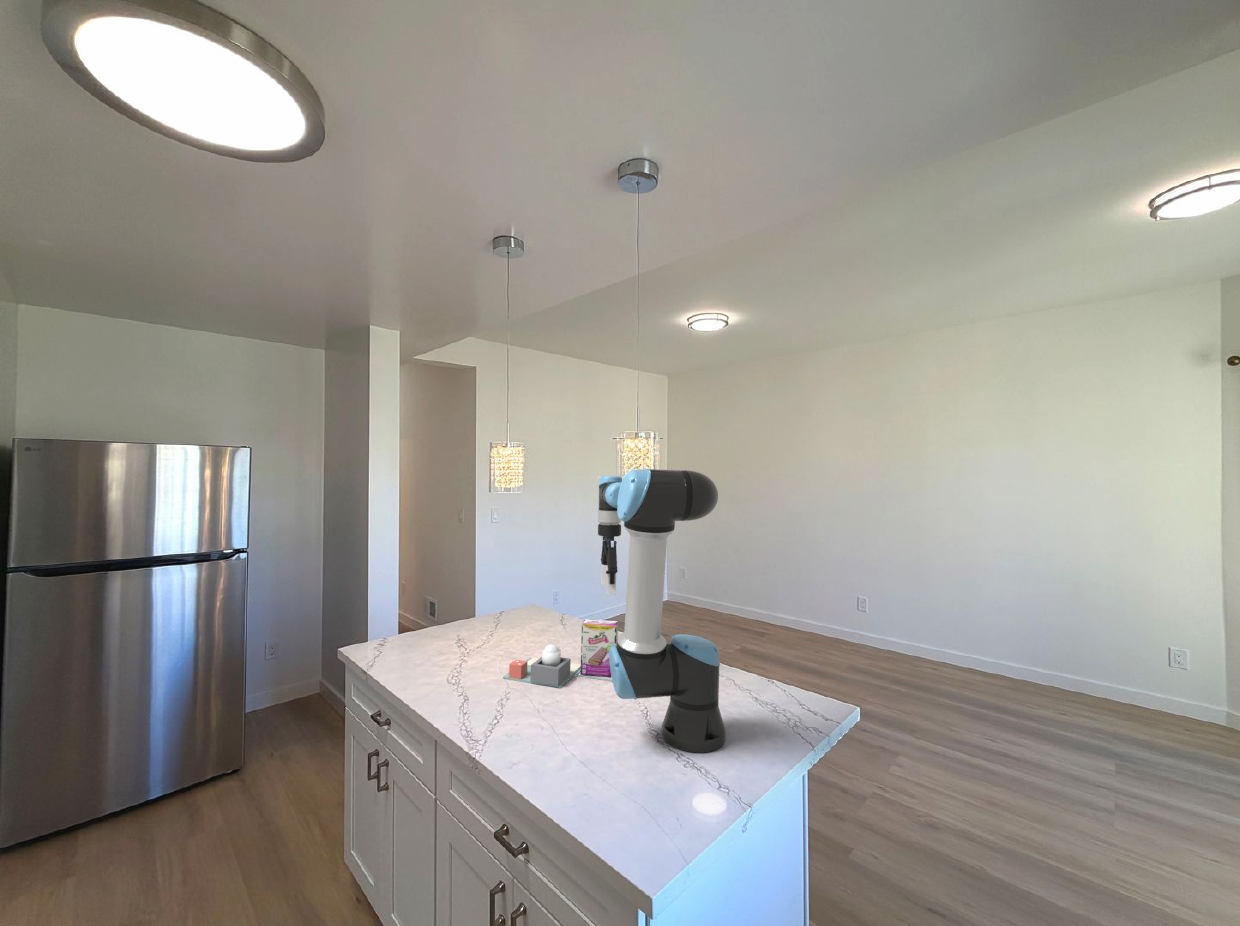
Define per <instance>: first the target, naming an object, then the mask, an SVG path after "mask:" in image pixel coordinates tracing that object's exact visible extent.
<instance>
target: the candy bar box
mask: <svg viewBox="0 0 1240 926" xmlns="http://www.w3.org/2000/svg"><path fill="white" fill-rule="evenodd" d="M618 630H619V621H617V620H606V619H589V618H584V620H583V621H582V622H581V644H580V646H581V647H580V648H581V649H580V665H581V671H580V675H584V676H591V677H607V678H612V676H611V670H610V662H609V651H610V648H611V647H613V646H617V640H618V636H619V634H618V633H619V631H618Z"/></svg>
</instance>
